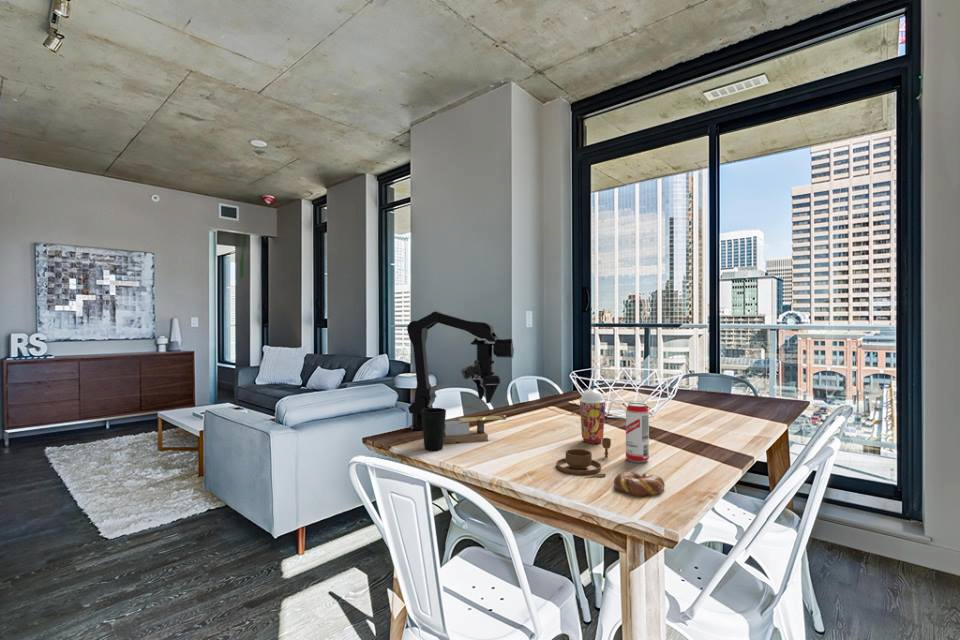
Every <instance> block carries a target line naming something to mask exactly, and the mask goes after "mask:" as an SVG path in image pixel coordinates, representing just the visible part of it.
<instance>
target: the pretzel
mask: <svg viewBox="0 0 960 640" xmlns="http://www.w3.org/2000/svg"><path fill="white" fill-rule="evenodd" d="M613 485H614V488H615V489H616V490H618V491H619V492H621V493H624V494H629V495H631V496H633V497H647V496H649V495H650V496H653V495H660V494H661V493H662V492H663V490H664V488H665V487H666V485H665V481H664V479H663V478H662V477H661V476H659V475H656V474H650V473H648V472H647V473H646V472H645V473H641V472H638V471H624V472H620V473H618V474H617V475H616V476H615V478H614V481H613Z"/></svg>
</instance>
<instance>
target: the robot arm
mask: <svg viewBox="0 0 960 640" xmlns="http://www.w3.org/2000/svg"><path fill="white" fill-rule="evenodd" d="M437 324H441V325H445V326H449V327H451V328H456V329H458V330H463V331H465V332H467V333H469V334H470V335H472V336H475V337H476V338H474V340H472V342H470V345H472V346H473V345H474V346H476V355H475V356H476V359H475V360H474V361H473V364H470V365H467V366H465V367H463V368H461V369H459V370H460V374H461V376H462V379H464V380H468V379H470V381H472V382H473V383H474V384H475V387H476V391H477V396H478V399H479V400H482V399H484V398H485V403H486V404H490V403H491V401H492V398H493V396H494V394H495V392H496V390H497V388H498V387H499V385H500V384H501V377H500V376H499V375H498V374H495V371H493V364H495V360H493V355H494V356H495V357H496V358H497V359H498V358H501V359H514V354H515V353H514V352H515V351H514V350H515V347H514V343H513V338H507V339H505V338H504V339H503V338H502V339H501V338H499V337H498V336H497V334H496V333H495V329H494V326H493V325H492V324H491V323H490V322H487V321H486V322H485V321H475V320H467V319H465V318H461V317H457V316H453V315H451V314H446V313H443V312H441V311H432V312H431V313H430V314H428V315H425V316H424V317H422V318H420V319H418V320H413V321H411V322H409V323H408V324H407V327H406V331H407V334H408V338H409V340H410V342H411V344H412V348H413V358H414V365H415V376H416V388H415V390H414V401H413V402H412V403H411V404H410V405H409V406H408V407H407V408H408V412H409V414H411V425H409V428H410V429H411V430H412V431H419V430H420V431H421V430H422V431H423V425H422V414H421V410H423V409H427V408H431V406H432V405H433V404H434V403H435V401H436V398H437V395H436V386H432V384H431V383H430V377H429V367H428V358H427V348H426V343H427V339H428V334H429V332H428V330H430V329H431V328H432V329H433V328H434V327H435V326H436V325H437ZM484 339H485V340H484ZM412 427H414V428H412Z"/></svg>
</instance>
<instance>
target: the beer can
mask: <svg viewBox="0 0 960 640" xmlns="http://www.w3.org/2000/svg"><path fill="white" fill-rule="evenodd" d="M649 425H650V411H649V409H648V405H647V404H646V403H641V402H629V403H627V407H626V409H625V458H626V459H627V460H628V461H629V462H631V463H636V464H637V463H638V464H643V463H646V462H647V461H648V460H649V458H650V456H649V455H650V454H649V453H650V451H649V450H650V448H649V447H650V442H649V441H650V429H649V428H650V426H649Z"/></svg>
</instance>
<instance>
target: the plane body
mask: <svg viewBox="0 0 960 640" xmlns="http://www.w3.org/2000/svg"><path fill="white" fill-rule="evenodd" d="M476 441H479V442H489V435H488V434H487V432H485V420H484V421H476V430H469V435H464V436H449V437H445V435H444V439H443V445H446V444H445V443H451V444H457V443H456V442H465V443H476Z"/></svg>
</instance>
